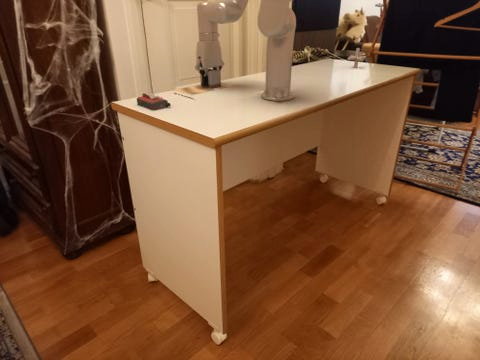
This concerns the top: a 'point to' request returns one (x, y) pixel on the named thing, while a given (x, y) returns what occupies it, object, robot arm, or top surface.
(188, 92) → the board
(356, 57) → the pipe connector
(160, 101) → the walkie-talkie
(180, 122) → the top surface
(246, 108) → the top surface
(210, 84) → the block
